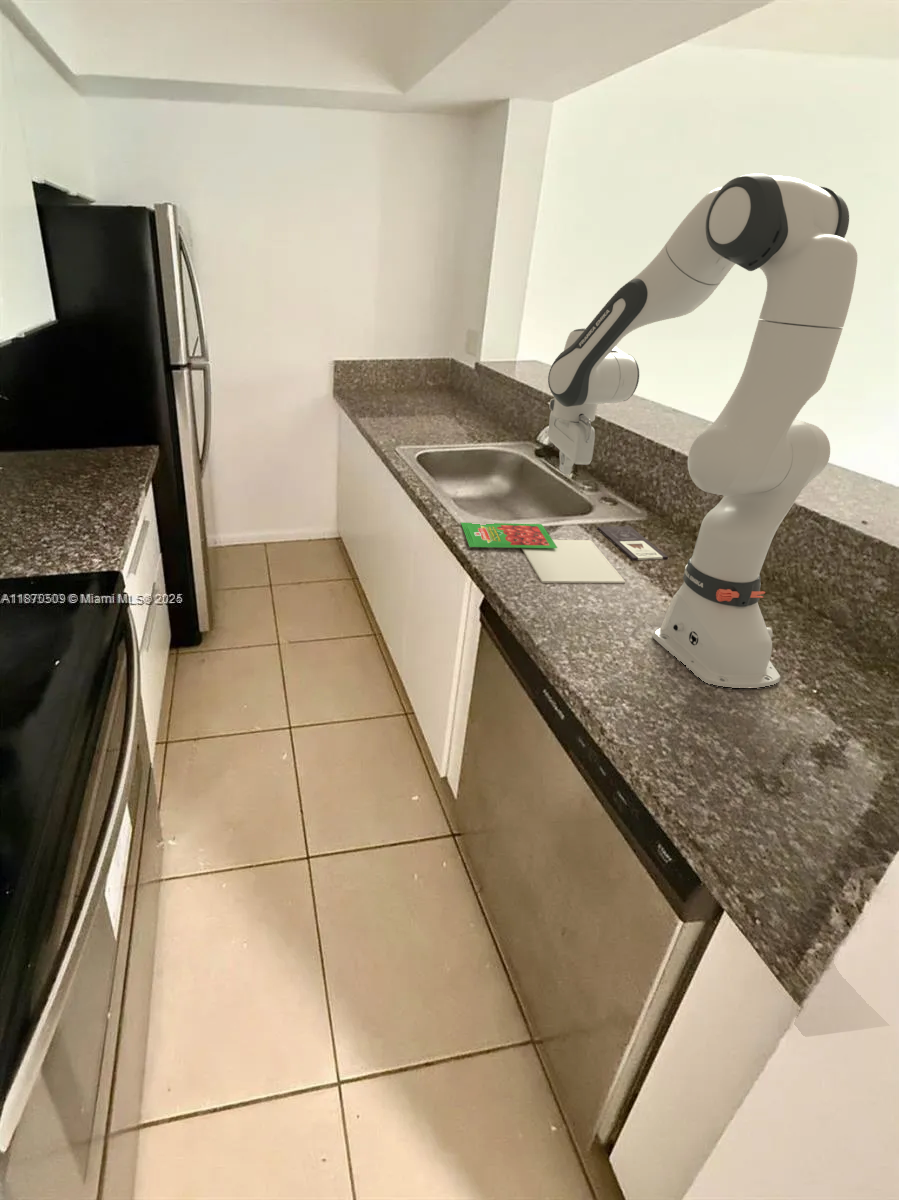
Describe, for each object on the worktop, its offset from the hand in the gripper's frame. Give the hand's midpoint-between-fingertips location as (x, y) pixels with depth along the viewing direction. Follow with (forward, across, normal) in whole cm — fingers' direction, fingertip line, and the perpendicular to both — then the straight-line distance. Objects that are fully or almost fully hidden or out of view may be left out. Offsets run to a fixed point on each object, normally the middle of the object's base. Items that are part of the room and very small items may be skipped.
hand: (564, 472), depth 145 cm
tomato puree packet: (+15, 0, +1) cm, 16 cm away
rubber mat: (+16, -12, 0) cm, 20 cm away
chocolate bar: (+17, -1, -19) cm, 25 cm away
